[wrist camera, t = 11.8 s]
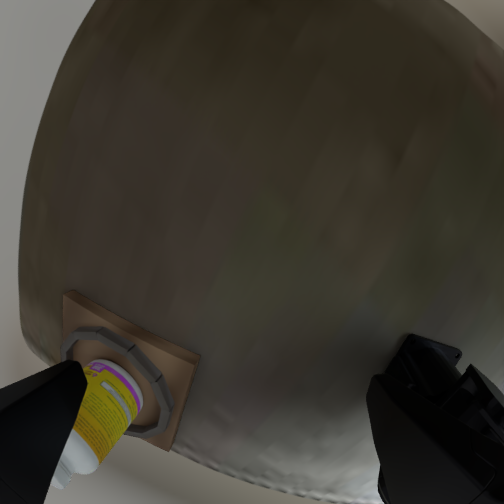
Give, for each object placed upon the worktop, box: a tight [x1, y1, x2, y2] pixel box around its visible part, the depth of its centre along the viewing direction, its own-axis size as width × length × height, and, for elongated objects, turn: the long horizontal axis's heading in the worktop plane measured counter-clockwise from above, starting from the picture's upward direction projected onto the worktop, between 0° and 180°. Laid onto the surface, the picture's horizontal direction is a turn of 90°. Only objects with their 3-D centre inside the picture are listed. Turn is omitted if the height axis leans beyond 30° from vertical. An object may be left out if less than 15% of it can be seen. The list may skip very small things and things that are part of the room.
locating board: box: [60, 290, 200, 452], centre depth 23 cm, size 14×14×3 cm
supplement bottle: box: [50, 359, 143, 490], centre depth 17 cm, size 7×7×13 cm
